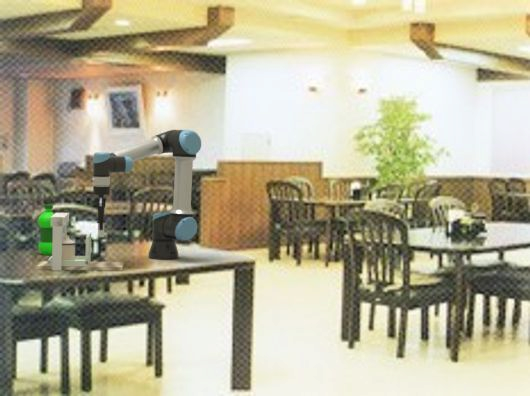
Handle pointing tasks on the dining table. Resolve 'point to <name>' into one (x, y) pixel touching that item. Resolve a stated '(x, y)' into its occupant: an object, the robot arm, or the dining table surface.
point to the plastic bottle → (46, 231)
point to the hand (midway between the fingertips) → (101, 236)
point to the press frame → (58, 238)
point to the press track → (91, 266)
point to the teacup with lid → (68, 249)
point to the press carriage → (78, 259)
